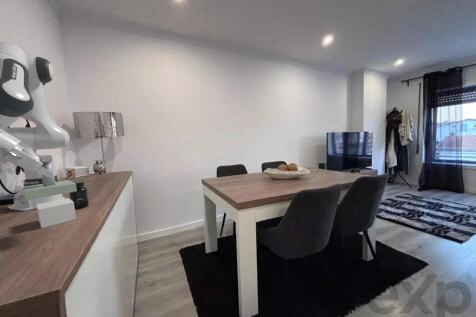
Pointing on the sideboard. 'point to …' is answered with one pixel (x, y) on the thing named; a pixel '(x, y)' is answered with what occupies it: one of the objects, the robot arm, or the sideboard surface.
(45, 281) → the sideboard surface
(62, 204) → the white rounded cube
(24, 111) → the robot arm
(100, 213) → the sideboard surface
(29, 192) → the t-shaped pedestal stand
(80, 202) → the supplement bottle
